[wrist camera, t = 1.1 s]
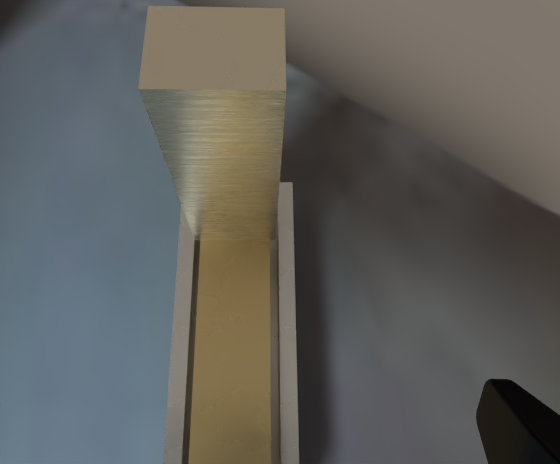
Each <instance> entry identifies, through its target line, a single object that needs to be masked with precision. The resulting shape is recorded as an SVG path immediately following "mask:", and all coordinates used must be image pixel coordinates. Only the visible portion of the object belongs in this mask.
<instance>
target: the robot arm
mask: <svg viewBox="0 0 560 464" xmlns="http://www.w3.org/2000/svg"><path fill="white" fill-rule="evenodd" d="M476 420H477V426H478V430H479V433H480V436H481V440H482V443H483V447H484V450H485V454H486V457H487V461H488V464H560V415H559V414H557V413H556V412H555V411H553V410H552V409H550V408H549V407H548V406H546V405H545V404H544V403H542V402H541V401H539V400H538V399H537V398H535V397H534V396H533V395H531V394H530V393H529V392H527V391H526V390H524V389H523V388H522V387H520V386H519V385H518V384H516V383H515V382H513V381H512V380H508V379H489V380H487V381H486V383H485V385H484V388H483V391H482V395H481V398H480V402H479V405H478V408H477V413H476Z"/></svg>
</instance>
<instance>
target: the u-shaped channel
mask: <svg viewBox="0 0 560 464" xmlns="http://www.w3.org/2000/svg"><path fill="white" fill-rule="evenodd" d="M199 258H200V240H194V237H193V234H192V232H191V229H190V226H189V224H188V221H187V218H186V216H185V213H184V210H183V208H182V205H181V217H180V231H179V245H178V259H177V273H176V288H175V302H174V316H173V330H172V344H171V358H170V372H169V386H168V401H167V415H166V429H165V443H164V457H163V464H189V447H190V428H191V409H192V390H193V371H194V353H195V334H196V315H197V296H198V277H199ZM270 387H271V464H299V434H298V392H297V350H296V308H295V266H294V224H293V183H292V182H280V185H279V200H278V214H277V228H276V240H270Z"/></svg>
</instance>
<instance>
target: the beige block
mask: <svg viewBox="0 0 560 464" xmlns="http://www.w3.org/2000/svg"><path fill="white" fill-rule="evenodd" d="M138 89H139V92H140V95H141V98H142V100H143V103H144V106H145V108H146V111H147V114H148V116H149V119H150V122H151V124H152V127H153V130H154V132H155V135H156V138H157V140H158V143H159V146H160V148H161V151H162V154H163V157H164V159H165V162H166V165H167V167H168V170H169V173H170V175H171V178H172V181H173V183H174V186H175V189H176V191H177V194H178V197H179V199H180V202H181V205H182V208H183V210H184V213H185V216H186V218H187V221H188V224H189V226H190V229H191V232H192V234H193V237H194V240H200V258H199V277H198V296H197V315H196V334H195V353H194V371H193V390H192V409H191V428H190V447H189V464H271V387H270V240H276V228H277V214H278V200H279V185H280V171H281V157H282V143H283V129H284V114H285V100H286V59H285V9H284V8H234V7H233V8H232V7H179V6H148V12H147V20H146V29H145V37H144V45H143V54H142V62H141V71H140V79H139V87H138Z"/></svg>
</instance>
